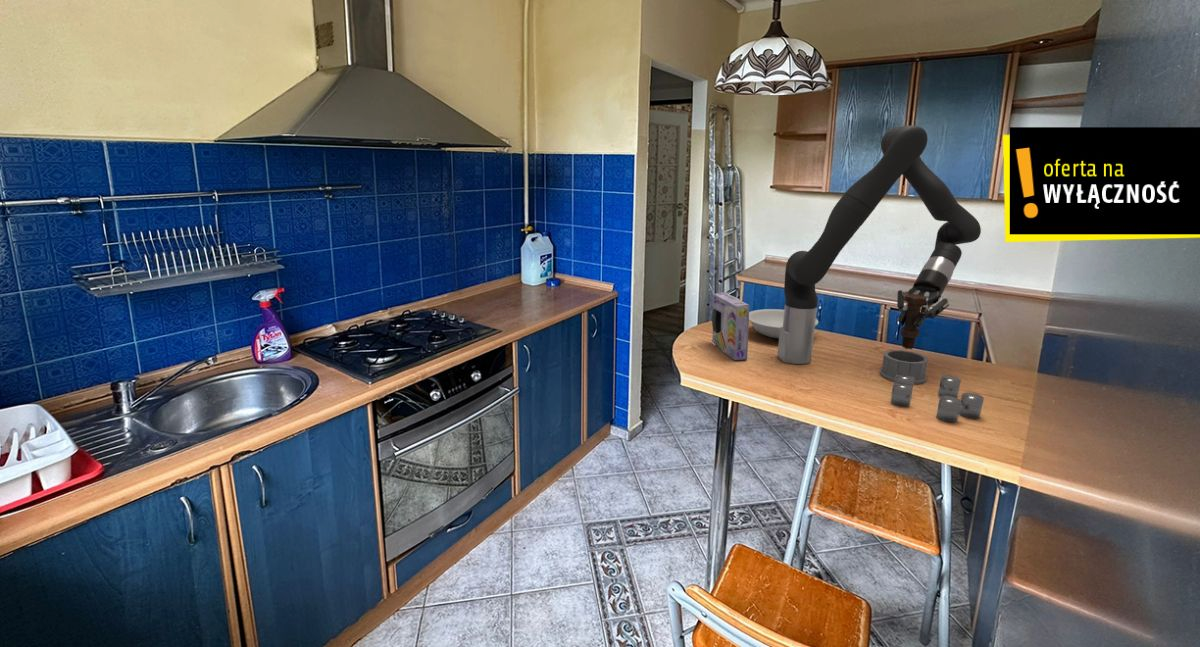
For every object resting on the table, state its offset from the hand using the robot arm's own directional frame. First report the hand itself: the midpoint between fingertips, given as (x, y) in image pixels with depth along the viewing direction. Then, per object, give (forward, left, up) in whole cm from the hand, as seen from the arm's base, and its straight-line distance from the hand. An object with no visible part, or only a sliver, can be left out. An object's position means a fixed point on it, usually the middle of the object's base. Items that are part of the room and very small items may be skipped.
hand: (908, 325), depth 157 cm
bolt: (+2, +1, -7) cm, 8 cm away
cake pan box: (-44, +23, -16) cm, 52 cm away
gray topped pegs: (-2, -19, -16) cm, 25 cm away
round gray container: (+1, +1, -16) cm, 16 cm away
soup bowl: (-22, +39, -16) cm, 47 cm away
